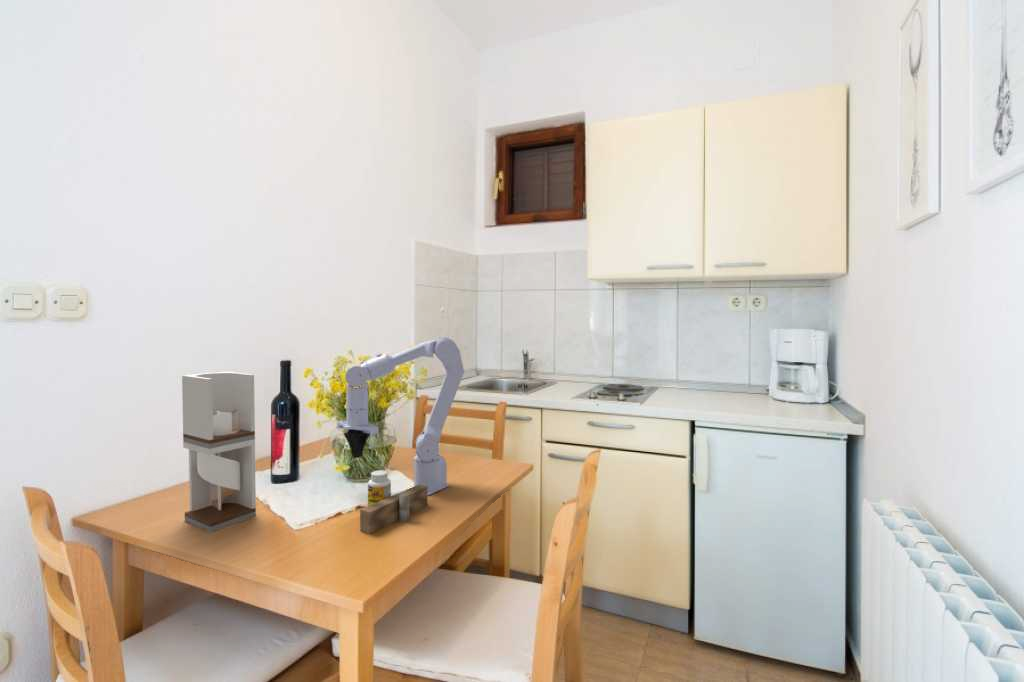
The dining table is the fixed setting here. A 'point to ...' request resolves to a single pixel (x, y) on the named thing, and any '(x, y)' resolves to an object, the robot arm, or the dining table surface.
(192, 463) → the white tower model
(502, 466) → the dining table surface
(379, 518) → the stop bar
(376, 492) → the supplement bottle
